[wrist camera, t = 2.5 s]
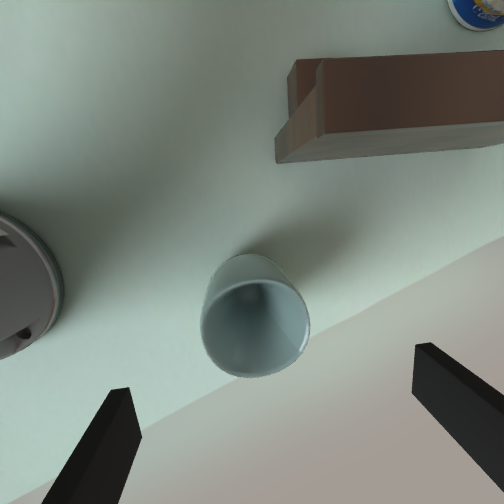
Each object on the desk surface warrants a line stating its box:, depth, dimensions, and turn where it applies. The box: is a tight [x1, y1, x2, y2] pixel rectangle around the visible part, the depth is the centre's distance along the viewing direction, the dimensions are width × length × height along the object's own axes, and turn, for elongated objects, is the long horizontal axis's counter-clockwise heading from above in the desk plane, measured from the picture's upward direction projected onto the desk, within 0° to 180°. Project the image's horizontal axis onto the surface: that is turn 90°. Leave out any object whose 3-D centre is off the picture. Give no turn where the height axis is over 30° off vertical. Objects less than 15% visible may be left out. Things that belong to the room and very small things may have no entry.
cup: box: [200, 254, 310, 378], centre depth 21 cm, size 8×8×10 cm
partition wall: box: [275, 50, 504, 164], centre depth 17 cm, size 23×8×13 cm, turn 95°
